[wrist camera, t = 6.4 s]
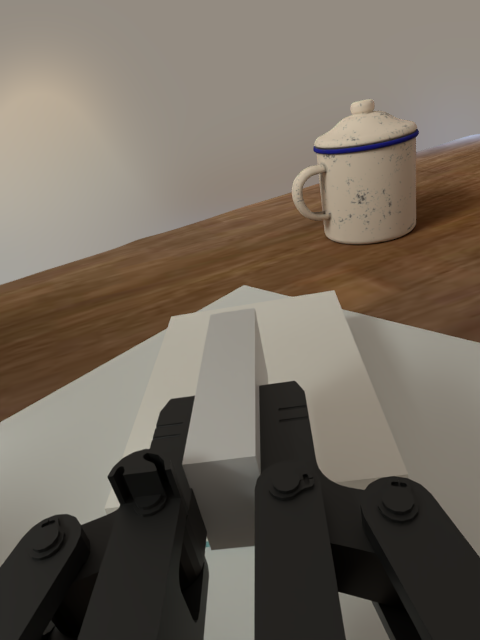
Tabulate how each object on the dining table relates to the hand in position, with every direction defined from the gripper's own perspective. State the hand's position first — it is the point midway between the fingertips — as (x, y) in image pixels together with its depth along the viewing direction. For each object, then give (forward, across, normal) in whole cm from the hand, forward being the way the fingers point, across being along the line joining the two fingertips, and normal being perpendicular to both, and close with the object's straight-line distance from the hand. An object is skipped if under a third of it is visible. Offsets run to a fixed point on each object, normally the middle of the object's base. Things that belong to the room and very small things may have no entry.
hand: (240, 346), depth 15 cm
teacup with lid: (+30, +10, -7) cm, 32 cm away
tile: (-3, 0, -5) cm, 6 cm away
